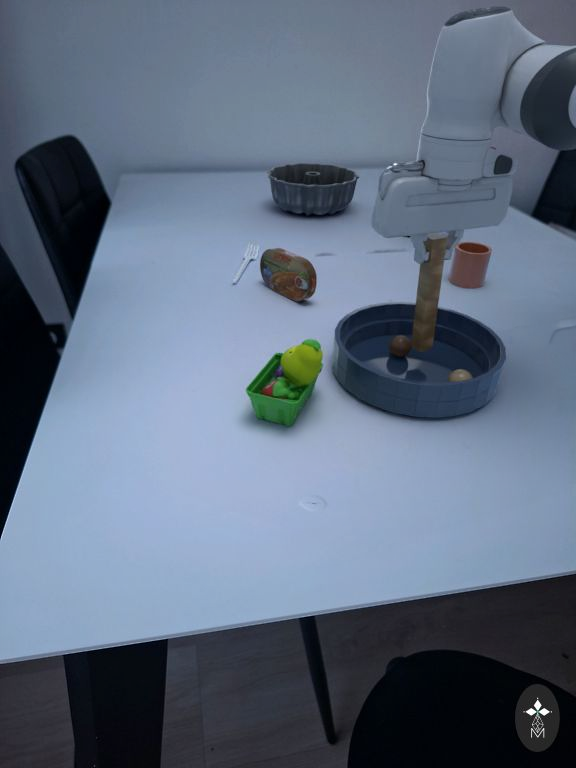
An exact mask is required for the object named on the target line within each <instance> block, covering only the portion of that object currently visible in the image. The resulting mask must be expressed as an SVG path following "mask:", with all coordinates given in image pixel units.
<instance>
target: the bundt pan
mask: <svg viewBox="0 0 576 768" xmlns="http://www.w3.org/2000/svg"><path fill="white" fill-rule="evenodd" d="M267 178H268V179H269V183H270V190H271V195H272V199H273V201H274V203H275V204H276V205H277V206H278V207H280V208H281V209H282V210H283V211H284V212H287V211H292V212H291V213H293V214H295V215H296V214H297V215H300V214H305V216H307V217H309V216H310V215H312V214H314V215H317V216H323V215H325V214H327V213H329V214H328V215H333V214H335V213H336V211H337V212H340V211H342V210H344V209H345V208H346V207H347V206H349V205H350V203H351V202H352V201H353V198H354V196H355V190H356V186H357V182H358V179H360V176H359V175H358V172H357V171H356V170H353V169H350V168H348V167H346V166H340V165H337V164H331V163H320V162H314V163H311V162H296V163H285V164H283V165H278V166H277V165H276V166H274V167H272V168H271V169H269V170H267Z"/></svg>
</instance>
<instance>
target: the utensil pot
mask: <svg viewBox="0 0 576 768" xmlns="http://www.w3.org/2000/svg"><path fill="white" fill-rule="evenodd" d="M492 253H493V249H492V248H491V247H490V246H489V245H487V244H484V243H480V242H474V241H463V242H458V244H457V245H456V246H455V248H454V250H453V255H452V256H453V257H452V261H451V264H450V265H451V266H450V271H449V276H448V282H449V283H450V284H452V285H453V286H455V287H459V288H462V289H469V290H470V289H480V288H482V287H484V284H485V280H486V276H487V273H488V269H489V263H490V260H491V256H492Z"/></svg>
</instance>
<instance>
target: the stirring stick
mask: <svg viewBox="0 0 576 768" xmlns="http://www.w3.org/2000/svg"><path fill="white" fill-rule="evenodd" d="M423 243H424V246H425V249H426V250H429V251H430V257H429V262H427V263H421V264H419V270H418V271H419V272H418V278H417V279H418V280H417V289H416V298H415V303H416V307H415V316H414V325H413V334H412V343H411V346H412V347H413V348H415V349H416V350H417V351H419V352H423V351H427V350H431V349H432V347H433V339H434V332H435V325H436V317H437V310H438V306H439V303H440V294H441V286H442V281H443V273H444V265H445V260H444V258H445V251H446V244H447V237H445V236H443V235H440V234H438V233H434V234H429V235H428V236H427V240H426V241H423Z"/></svg>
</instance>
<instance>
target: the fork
mask: <svg viewBox="0 0 576 768" xmlns="http://www.w3.org/2000/svg"><path fill="white" fill-rule="evenodd" d="M253 245H254V246H253ZM259 247H260V244H257V245H256V243H255V244H253V243H251V244H250V243H248V246H247V248H246V250H245V253H244V255H243V257H242V259H243V261H242V263H241V266H240V267H239V269H238V271H237V272H236V274H235V276H234V277H233V280H232V284H237V282H238V281H239V279H240V277H241V276H242V274H243V273H244V271H245V270H246V267H247V265H249V263H250V261H251V260H258V257H259V252H260V251H259V250H260V248H259Z"/></svg>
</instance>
